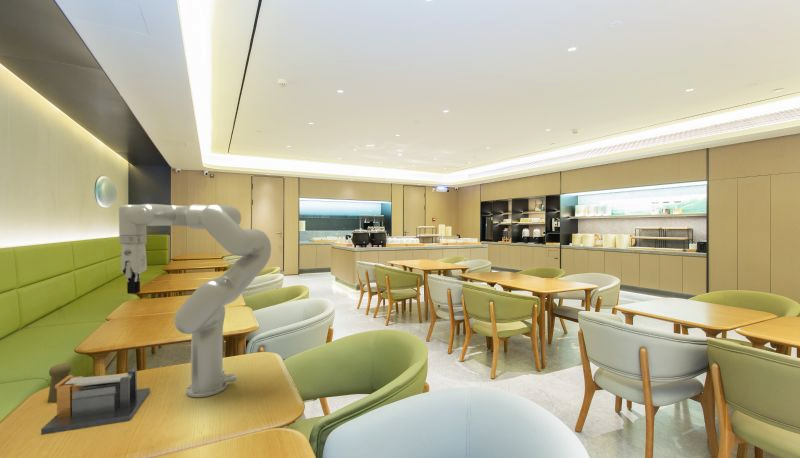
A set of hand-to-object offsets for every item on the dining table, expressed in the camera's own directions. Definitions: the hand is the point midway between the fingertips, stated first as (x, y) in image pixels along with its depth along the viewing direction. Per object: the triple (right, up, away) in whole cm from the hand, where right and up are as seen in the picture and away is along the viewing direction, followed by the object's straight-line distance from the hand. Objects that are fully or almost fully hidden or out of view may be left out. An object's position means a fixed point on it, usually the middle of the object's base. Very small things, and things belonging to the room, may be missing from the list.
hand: (133, 292), depth 122 cm
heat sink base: (+1, -33, -15) cm, 37 cm away
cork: (-19, -33, -7) cm, 39 cm away
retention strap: (+1, -24, -15) cm, 29 cm away
